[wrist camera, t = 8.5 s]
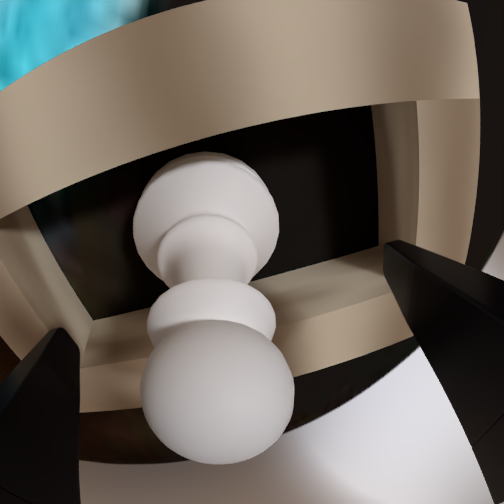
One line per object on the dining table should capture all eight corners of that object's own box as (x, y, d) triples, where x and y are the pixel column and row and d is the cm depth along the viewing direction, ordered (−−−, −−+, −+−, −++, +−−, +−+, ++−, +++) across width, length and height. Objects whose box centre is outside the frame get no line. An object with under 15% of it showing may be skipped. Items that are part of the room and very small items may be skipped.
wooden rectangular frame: (83, 370, 16) (74, 412, 13) (-48, 148, 8) (-90, 173, 5) (422, 284, 16) (450, 319, 13) (417, 8, 8) (466, 3, 6)
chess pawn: (289, 170, 11) (437, 368, 4) (248, 278, 14) (298, 487, 6) (153, 135, 10) (33, 330, 2) (131, 257, 12) (87, 479, 5)
